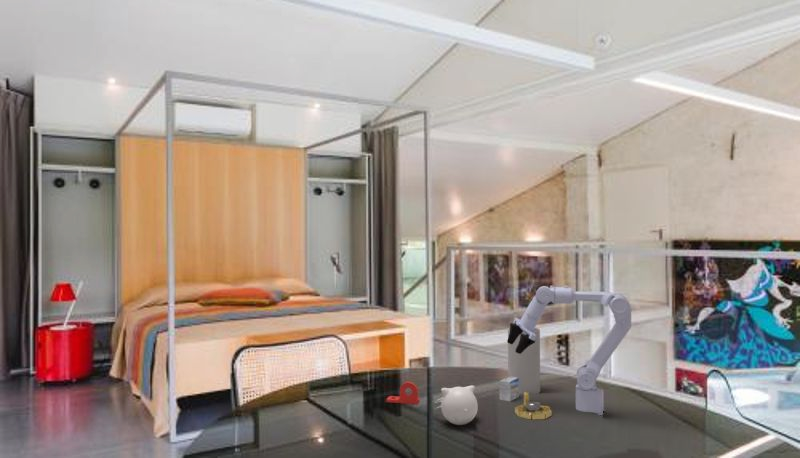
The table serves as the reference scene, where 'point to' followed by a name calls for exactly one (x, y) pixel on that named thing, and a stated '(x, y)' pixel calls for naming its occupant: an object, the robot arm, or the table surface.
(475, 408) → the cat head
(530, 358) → the cylinder vase
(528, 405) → the grey shiny rounded piece
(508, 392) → the medicine box
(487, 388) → the table surface
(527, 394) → the gold octagonal ring
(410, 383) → the bracket
